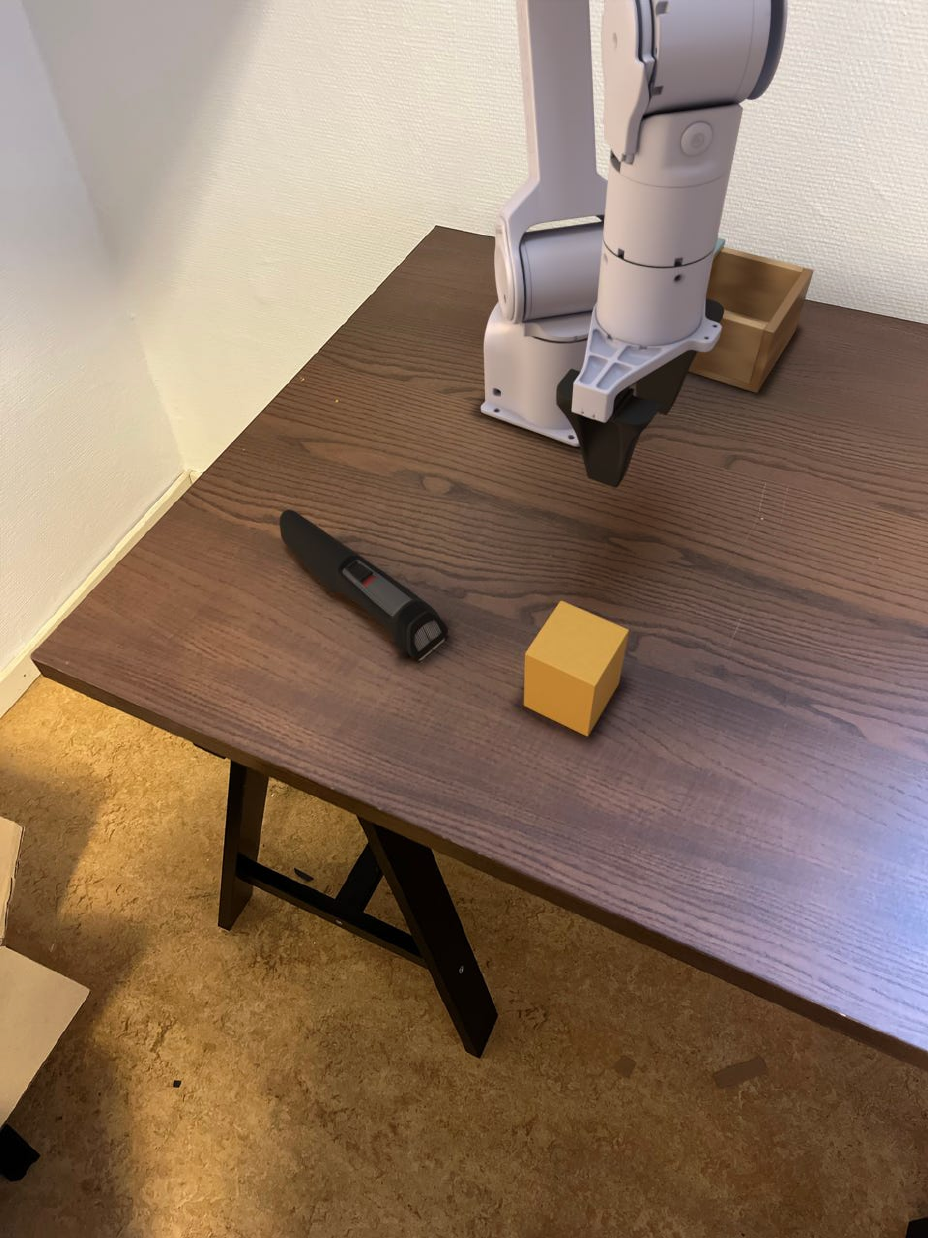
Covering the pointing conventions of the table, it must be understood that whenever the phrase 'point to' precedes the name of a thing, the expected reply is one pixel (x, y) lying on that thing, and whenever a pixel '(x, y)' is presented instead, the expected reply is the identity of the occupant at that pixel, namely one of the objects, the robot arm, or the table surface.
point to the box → (751, 316)
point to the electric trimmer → (365, 586)
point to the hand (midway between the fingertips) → (630, 442)
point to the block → (574, 667)
